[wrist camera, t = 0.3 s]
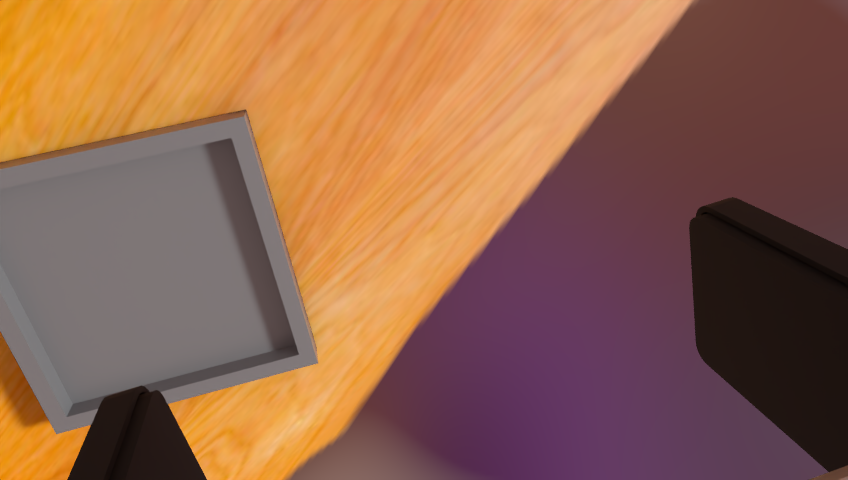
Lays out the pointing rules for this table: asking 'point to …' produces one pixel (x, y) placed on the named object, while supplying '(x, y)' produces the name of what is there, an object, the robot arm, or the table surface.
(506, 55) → the table surface
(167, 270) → the serving tray
